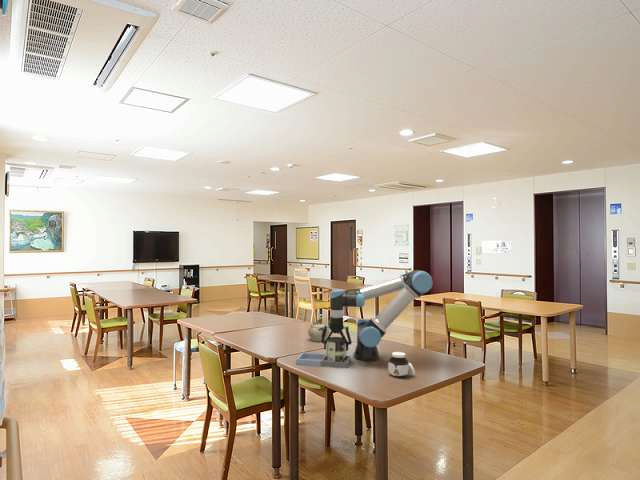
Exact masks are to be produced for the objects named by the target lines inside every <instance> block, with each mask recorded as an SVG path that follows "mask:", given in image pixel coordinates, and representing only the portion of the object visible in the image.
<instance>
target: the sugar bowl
mask: <svg viewBox="0 0 640 480" xmlns="http://www.w3.org/2000/svg"><path fill="white" fill-rule="evenodd" d="M326 325H327V324H323V323H321V319H317V321H316V323H315V322H314V323H313V324H312V325H310V326H309V327H308V329H307V333H308V336H309V337H310V339H311V340H312V341H313V342H317V343H321V340H322V337H323V333H324V327H325V326H326ZM329 334H330V328H328V330H327V332H326V335H325V339H324V341H325V340H326V339H327V337H328V335H329Z"/></svg>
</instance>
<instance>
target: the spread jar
mask: <svg viewBox="0 0 640 480" xmlns="http://www.w3.org/2000/svg"><path fill="white" fill-rule="evenodd" d="M387 367H388V368H387V369H388V373H389V375H390V376H391V377H393V378H394V379H395V378H396V379H403V378H406V377H407V376H408V375H409V376H411V377H413V376H415V375H416V370H415V368H414V366H413V364H412V363H411V362H410V361H409V360H408V359H407V357H406V353H405V352H401V351H394V352H391V357H390V358H389V359H388V366H387Z"/></svg>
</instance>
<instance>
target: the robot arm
mask: <svg viewBox="0 0 640 480" xmlns="http://www.w3.org/2000/svg"><path fill="white" fill-rule="evenodd" d="M432 287H433V278H432V276H431V275H430V274H429V273H428V272H426V271H424V270H421V269H420V270H419V269H415V270H411V271H409V272H406V273H403V274H400V275H399V277H396V278H392V279H390V280H385V281H382V282H378V283H375V284H371V285H369V286H365V287H361V288H358V289H355V290H349V291H347V293H345V291H344V290H343V289H336V288H335V289H331V290H330V298H329V299H330V301H329V302H330V303H329V304H330V305H329V308H330V309H329V313H330V314H329V316H330V318H329V325H327V324H325V325H326V326H325V327H324V333H323V337H322V340H321V342H320V343H322V344H323V350H325V354H326V356H327V341H328V340H327V339H329V338H330V337H332V335H333V334H338V335H340V337H342V338H343V340H345V341H344V342H345V350H344V357H346V356H347V352H349V346H350V345H352V339H351V334H350V331H349V326H348V325H347V326H344V307H345V308H346V307H347V308H348V307H349V308H350V307H353V308H362V307H363V308H364V306H365V304H366V303H365V301H368V300H370V299H374V298H378V297H382V296H385V295H389V294H392V293H396V292H397V294H396V296H394V297H393V298H392V299H391V300H390V302H389V303H387V305H386V306H385V307H384V308H383V309H382V310H381V311H380V312H379V313H378V314H377V315H376V316H375V317H374V318H373V317H371V318H365V319H364V318H363V319H361V318H360V319H358V320H357V324H356V328H357V329H356V334H357V335H356V346H355V350H354V353H353V358H354V359H355V360H359V361H364V362H373V361H377V360H379V359H380V353H379V350H378V347H377V346H378V345H379V344H380V343H381V340H382V338H383V337H385V334H387V328H388V327H389V326H391V324H392V323H393V322H394V321H395V320H396V319H397V318H398V317H399V316H400V315H401V314H402V313H403V311H405V309H407V307H408V306H409V305H410V304H411V303H413V301H414V300H415V299H420V297H422V295H424V294H425V293H427V292H429V291H430V290H432ZM328 329H329V334H328V336H327V337H326V339H325V335H326V332H327V330H328ZM343 330H344V331H345V334H346V336H345V334H344V332H343ZM324 339H325V340H324Z"/></svg>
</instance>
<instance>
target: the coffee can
mask: <svg viewBox="0 0 640 480" xmlns="http://www.w3.org/2000/svg"><path fill="white" fill-rule="evenodd" d="M326 339H327V338H326ZM327 340H328V341H327V360H326V361H333V362H346V361H345V357H344V350H345V342H344V341H345V340H343V338H342V337H341V336H330V338H329V339H327Z"/></svg>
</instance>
